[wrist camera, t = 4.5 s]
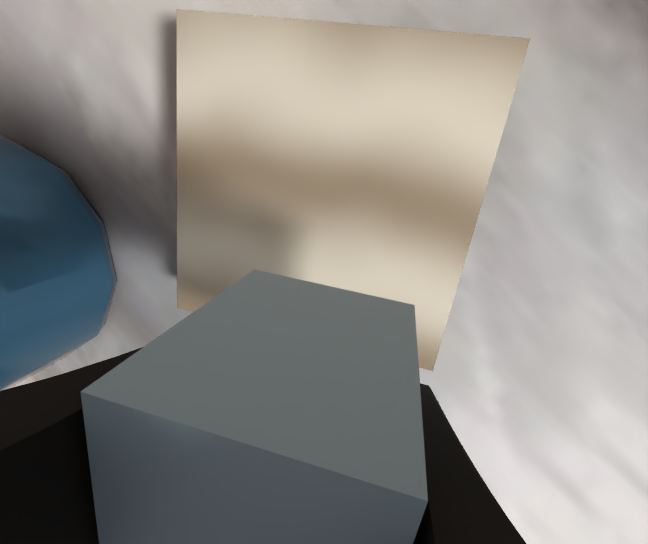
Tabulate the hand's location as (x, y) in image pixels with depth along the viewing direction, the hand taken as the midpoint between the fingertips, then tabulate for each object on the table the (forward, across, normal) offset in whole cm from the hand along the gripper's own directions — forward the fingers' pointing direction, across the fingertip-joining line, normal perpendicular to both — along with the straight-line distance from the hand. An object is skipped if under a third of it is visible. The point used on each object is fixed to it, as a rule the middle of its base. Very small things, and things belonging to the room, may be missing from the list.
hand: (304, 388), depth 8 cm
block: (+2, 0, 0) cm, 2 cm away
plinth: (+9, +2, -4) cm, 10 cm away
